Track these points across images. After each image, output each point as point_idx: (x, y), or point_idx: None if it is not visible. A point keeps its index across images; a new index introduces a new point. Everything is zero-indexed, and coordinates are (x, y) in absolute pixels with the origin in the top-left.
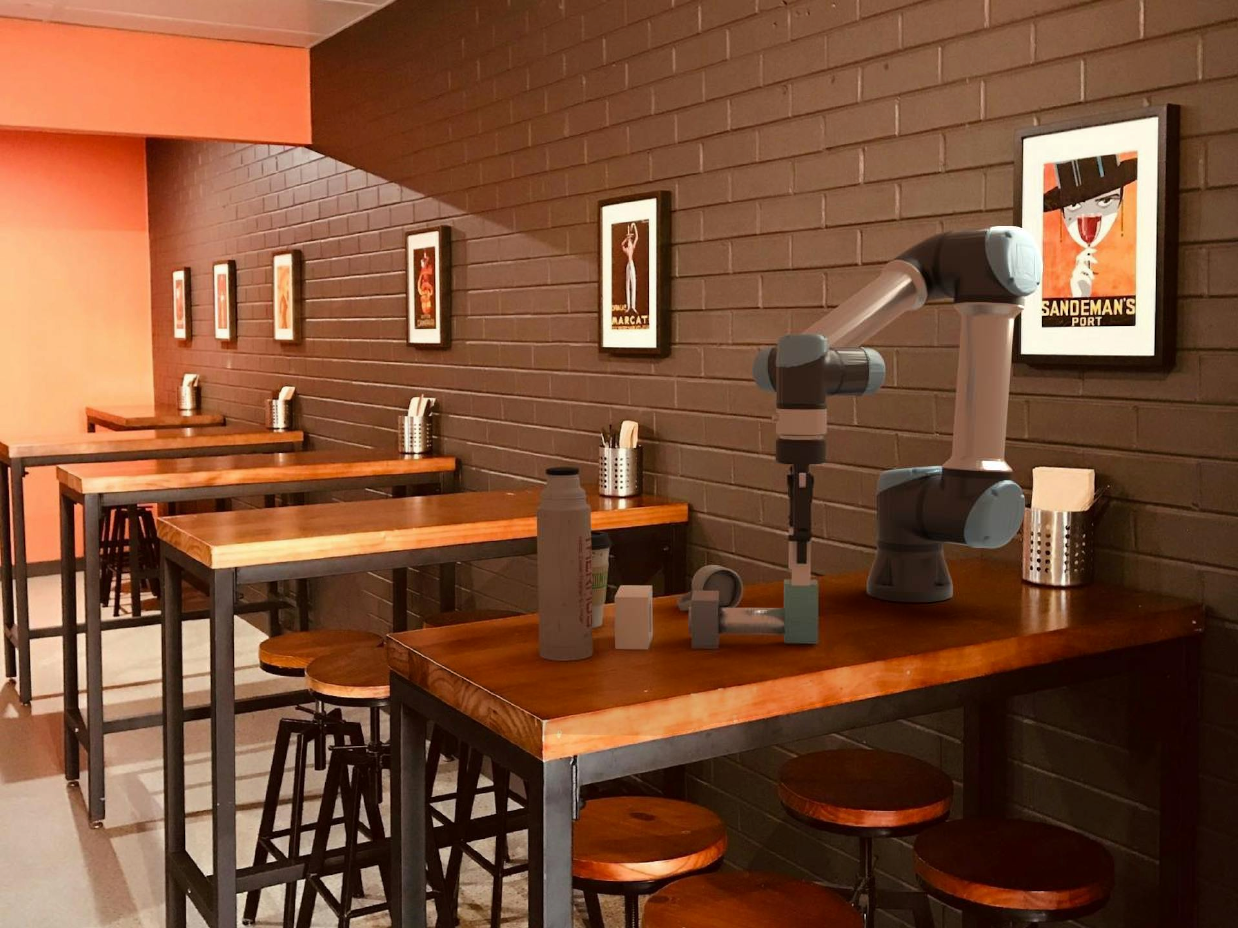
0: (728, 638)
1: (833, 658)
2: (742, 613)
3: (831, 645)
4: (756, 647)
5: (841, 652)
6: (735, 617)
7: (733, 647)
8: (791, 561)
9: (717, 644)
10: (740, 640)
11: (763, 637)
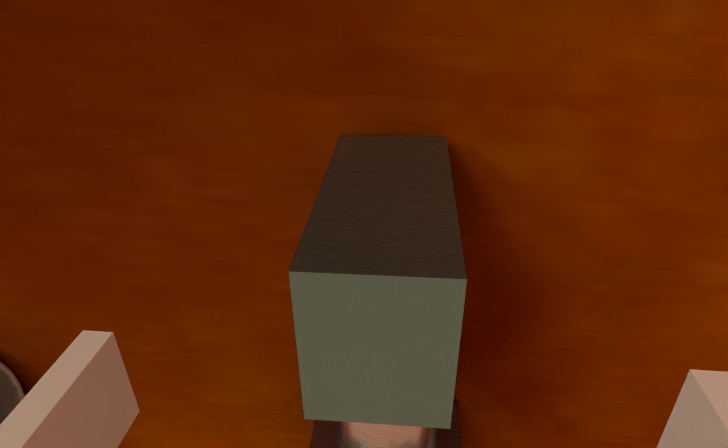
0: None
1: (632, 83)
2: (416, 432)
3: (411, 75)
4: None
5: (535, 41)
6: (425, 438)
7: None
8: (109, 441)
9: (457, 412)
10: None
11: None
